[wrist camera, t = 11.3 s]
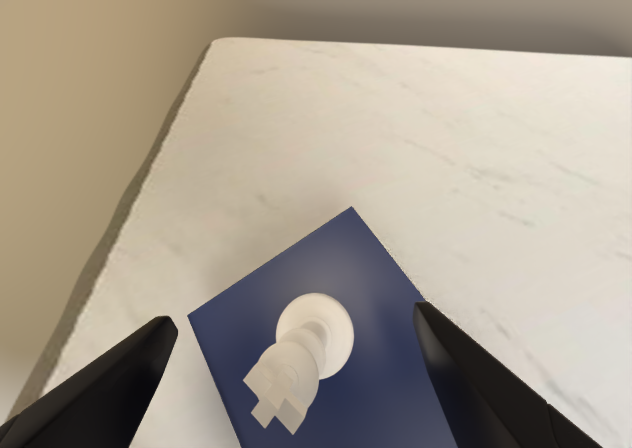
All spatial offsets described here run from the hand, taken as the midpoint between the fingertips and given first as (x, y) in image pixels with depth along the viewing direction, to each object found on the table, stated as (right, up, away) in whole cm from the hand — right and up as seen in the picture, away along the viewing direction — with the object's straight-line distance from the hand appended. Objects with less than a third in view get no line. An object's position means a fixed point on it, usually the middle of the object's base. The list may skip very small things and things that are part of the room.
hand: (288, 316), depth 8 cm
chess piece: (+1, -4, +6) cm, 7 cm away
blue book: (+3, -7, +8) cm, 11 cm away
